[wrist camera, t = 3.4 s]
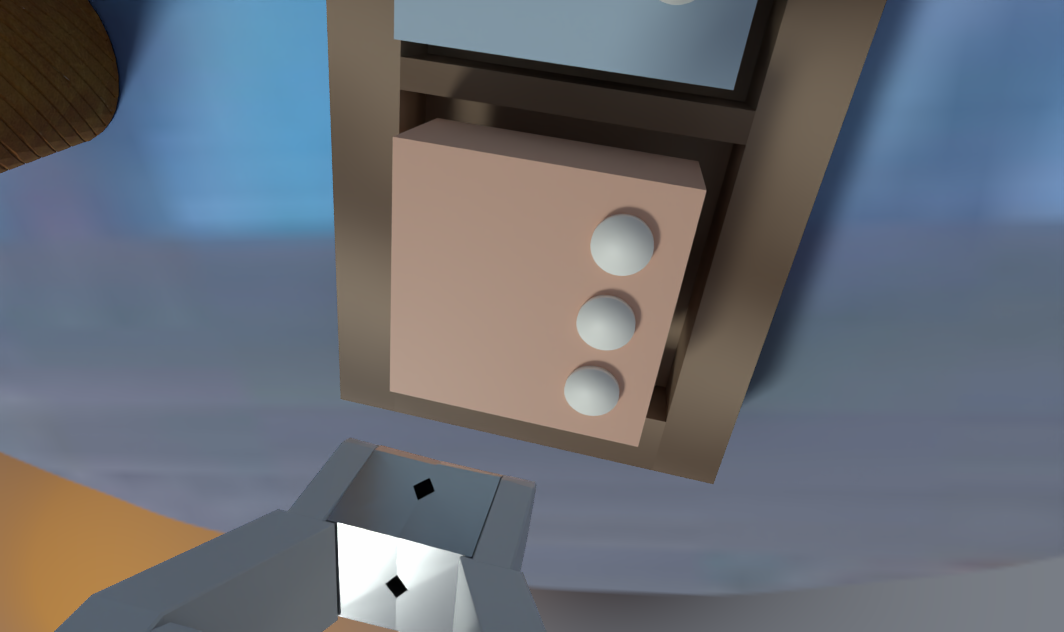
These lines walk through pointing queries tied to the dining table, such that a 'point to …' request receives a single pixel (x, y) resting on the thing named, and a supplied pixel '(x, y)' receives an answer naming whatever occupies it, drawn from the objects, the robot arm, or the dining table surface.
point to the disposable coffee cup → (52, 78)
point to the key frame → (623, 122)
